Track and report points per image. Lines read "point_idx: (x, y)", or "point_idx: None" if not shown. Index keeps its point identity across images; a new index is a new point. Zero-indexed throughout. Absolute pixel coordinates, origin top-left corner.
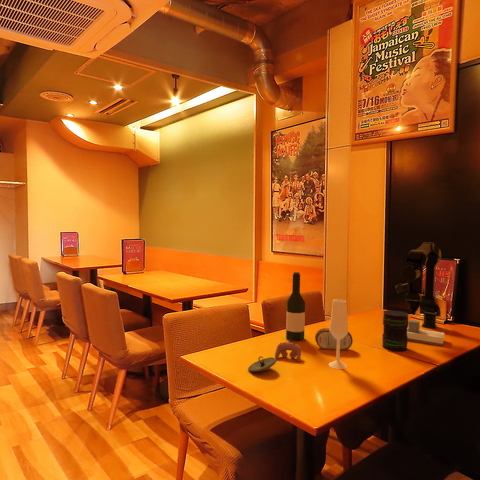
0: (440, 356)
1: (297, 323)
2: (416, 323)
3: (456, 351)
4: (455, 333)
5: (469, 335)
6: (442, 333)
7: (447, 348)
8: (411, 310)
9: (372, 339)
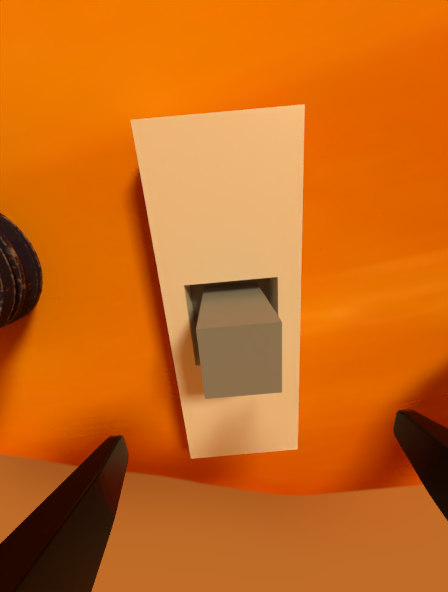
0: (44, 438)
1: None
2: (204, 379)
3: (158, 466)
4: None
5: None
6: (280, 444)
7: (174, 440)
8: (51, 498)
9: (15, 87)
